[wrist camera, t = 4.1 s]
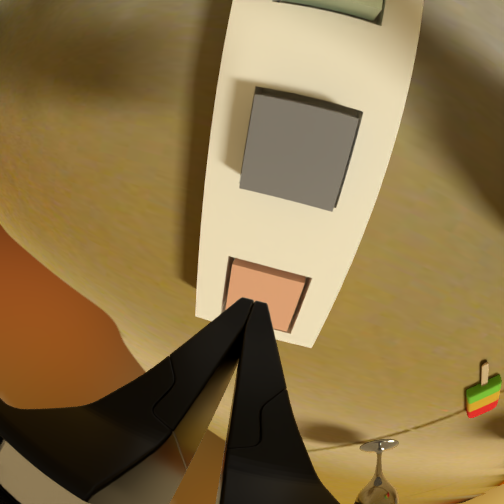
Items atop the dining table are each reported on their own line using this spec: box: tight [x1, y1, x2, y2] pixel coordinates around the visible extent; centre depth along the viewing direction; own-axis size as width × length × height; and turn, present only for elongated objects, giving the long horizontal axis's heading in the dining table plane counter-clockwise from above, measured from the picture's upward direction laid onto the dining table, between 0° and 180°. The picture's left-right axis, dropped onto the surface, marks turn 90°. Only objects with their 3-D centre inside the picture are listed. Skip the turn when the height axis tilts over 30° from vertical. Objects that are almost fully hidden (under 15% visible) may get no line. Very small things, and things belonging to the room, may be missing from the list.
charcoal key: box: [239, 94, 359, 212], centre depth 14 cm, size 5×5×2 cm
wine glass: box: [354, 439, 399, 504], centre depth 32 cm, size 8×8×15 cm
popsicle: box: [466, 362, 502, 418], centre depth 25 cm, size 6×15×2 cm, turn 35°
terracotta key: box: [225, 258, 305, 332], centre depth 22 cm, size 5×5×2 cm
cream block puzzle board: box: [195, 0, 424, 348], centre depth 16 cm, size 10×30×3 cm, turn 171°
